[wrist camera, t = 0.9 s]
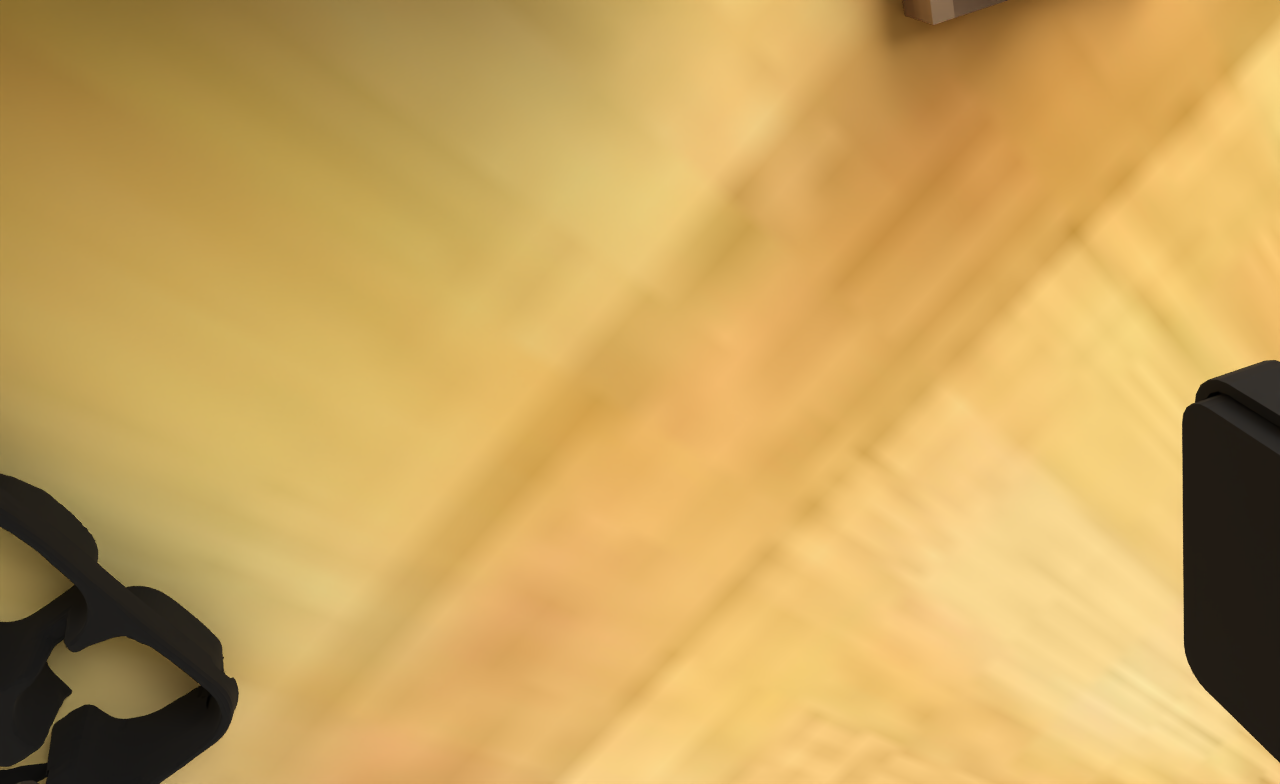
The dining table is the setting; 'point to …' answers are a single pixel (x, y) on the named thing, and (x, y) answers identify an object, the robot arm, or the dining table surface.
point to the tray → (943, 9)
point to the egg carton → (82, 616)
